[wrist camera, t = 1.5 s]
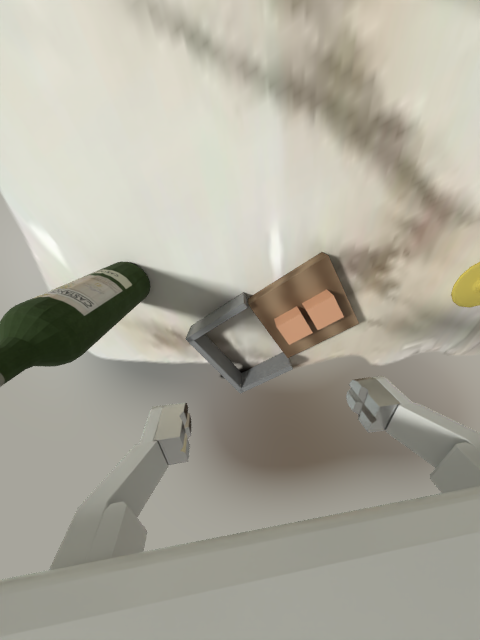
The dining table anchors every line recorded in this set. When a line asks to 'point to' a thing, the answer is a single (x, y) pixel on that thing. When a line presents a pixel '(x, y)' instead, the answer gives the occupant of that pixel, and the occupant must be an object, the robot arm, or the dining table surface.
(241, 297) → the box
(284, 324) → the tile
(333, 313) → the tile
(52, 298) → the wine bottle
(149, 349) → the dining table surface
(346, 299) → the wooden square board
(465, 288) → the candle
